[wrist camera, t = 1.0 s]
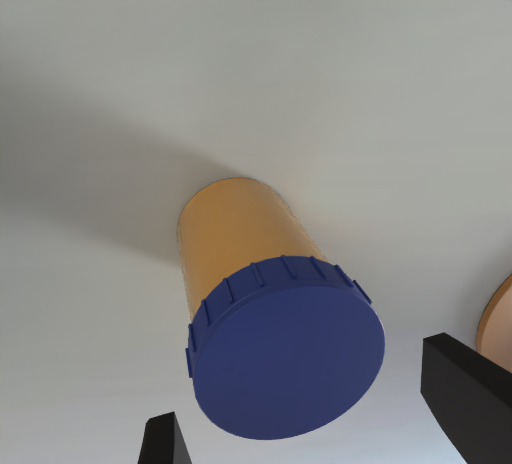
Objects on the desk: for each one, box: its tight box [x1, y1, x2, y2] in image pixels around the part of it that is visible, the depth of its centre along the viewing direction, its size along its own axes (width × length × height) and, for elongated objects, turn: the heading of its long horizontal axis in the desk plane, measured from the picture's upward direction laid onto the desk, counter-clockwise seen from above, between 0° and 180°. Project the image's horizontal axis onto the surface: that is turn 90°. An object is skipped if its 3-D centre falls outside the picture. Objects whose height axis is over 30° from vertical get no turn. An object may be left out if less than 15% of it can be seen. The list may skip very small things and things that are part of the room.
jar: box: [177, 178, 329, 324], centre depth 16 cm, size 5×5×8 cm
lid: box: [186, 255, 386, 440], centre depth 13 cm, size 6×6×2 cm
